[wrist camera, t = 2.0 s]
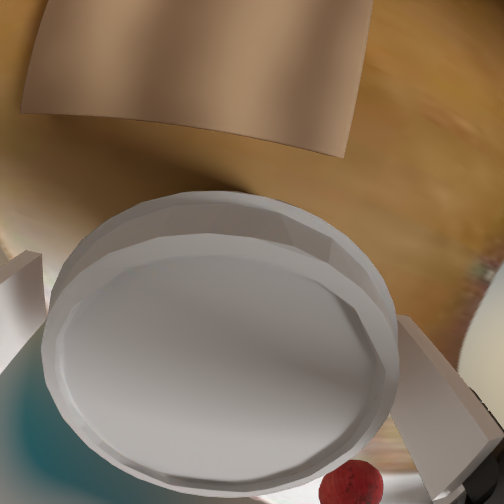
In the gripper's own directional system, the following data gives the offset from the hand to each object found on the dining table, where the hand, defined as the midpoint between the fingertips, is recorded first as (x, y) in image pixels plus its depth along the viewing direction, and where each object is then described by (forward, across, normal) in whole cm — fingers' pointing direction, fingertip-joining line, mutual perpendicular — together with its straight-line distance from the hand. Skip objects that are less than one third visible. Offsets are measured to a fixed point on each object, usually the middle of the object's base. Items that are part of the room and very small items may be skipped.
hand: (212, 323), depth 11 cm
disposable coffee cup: (+8, 0, 0) cm, 8 cm away
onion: (+8, +14, -19) cm, 25 cm away
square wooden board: (+7, -4, +14) cm, 16 cm away
